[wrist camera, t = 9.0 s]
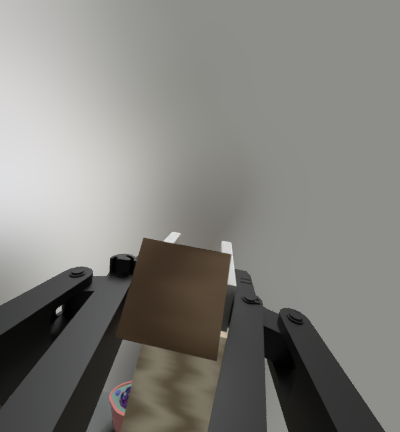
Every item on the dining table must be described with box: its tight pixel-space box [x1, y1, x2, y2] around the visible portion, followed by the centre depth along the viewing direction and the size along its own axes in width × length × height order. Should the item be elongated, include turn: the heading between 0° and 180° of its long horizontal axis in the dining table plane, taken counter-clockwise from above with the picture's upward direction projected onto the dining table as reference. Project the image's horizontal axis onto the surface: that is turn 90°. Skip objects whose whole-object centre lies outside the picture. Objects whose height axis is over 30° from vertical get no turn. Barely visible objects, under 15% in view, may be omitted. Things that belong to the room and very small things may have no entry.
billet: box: [115, 238, 231, 361], centre depth 16 cm, size 4×20×4 cm, turn 179°
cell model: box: [109, 380, 133, 432], centre depth 46 cm, size 17×20×11 cm
